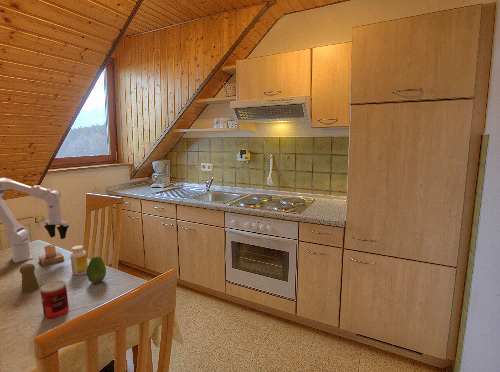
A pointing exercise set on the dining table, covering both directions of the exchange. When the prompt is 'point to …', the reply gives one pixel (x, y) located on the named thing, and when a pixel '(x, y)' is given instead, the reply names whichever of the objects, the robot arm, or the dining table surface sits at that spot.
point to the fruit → (96, 270)
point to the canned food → (54, 299)
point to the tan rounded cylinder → (50, 251)
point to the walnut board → (51, 259)
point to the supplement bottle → (78, 260)
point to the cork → (28, 278)
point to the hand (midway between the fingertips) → (58, 237)
